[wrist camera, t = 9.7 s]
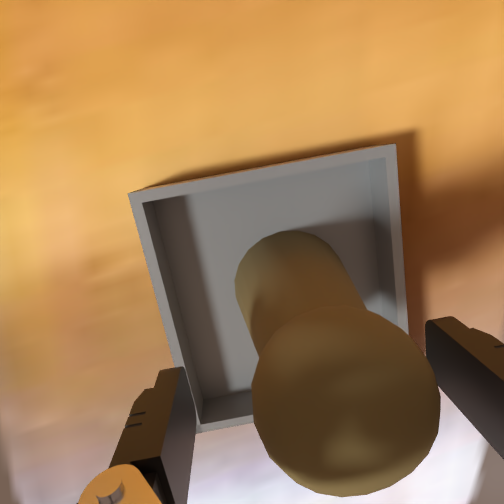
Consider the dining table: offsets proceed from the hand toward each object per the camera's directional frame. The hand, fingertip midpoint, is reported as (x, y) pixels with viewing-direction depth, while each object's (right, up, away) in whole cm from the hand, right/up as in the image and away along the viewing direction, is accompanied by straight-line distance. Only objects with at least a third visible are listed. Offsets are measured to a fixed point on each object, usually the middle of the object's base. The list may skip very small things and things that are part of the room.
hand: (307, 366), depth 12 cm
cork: (0, +2, +8) cm, 8 cm away
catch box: (0, +2, +8) cm, 8 cm away
